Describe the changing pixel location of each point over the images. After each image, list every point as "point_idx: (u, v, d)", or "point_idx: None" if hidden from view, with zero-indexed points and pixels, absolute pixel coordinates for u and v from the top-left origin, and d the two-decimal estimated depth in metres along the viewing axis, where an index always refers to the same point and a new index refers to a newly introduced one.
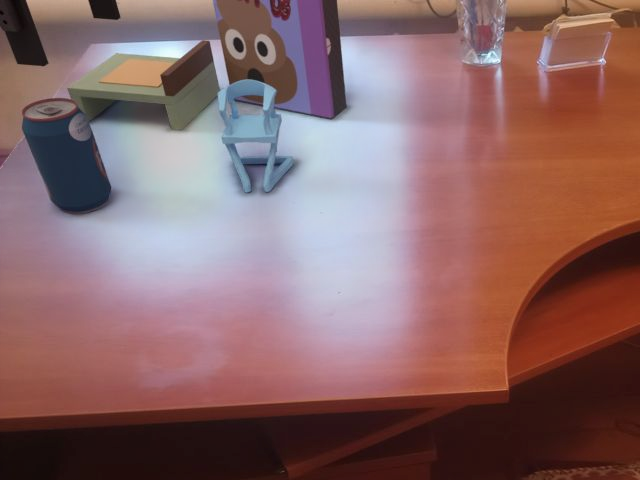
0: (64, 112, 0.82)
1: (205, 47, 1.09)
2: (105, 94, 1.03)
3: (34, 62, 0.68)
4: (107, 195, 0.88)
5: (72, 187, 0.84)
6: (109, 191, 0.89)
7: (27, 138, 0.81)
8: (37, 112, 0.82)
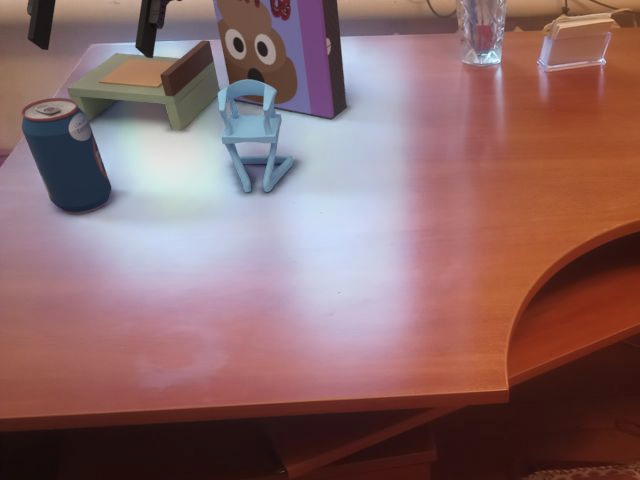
0: (64, 112, 0.82)
1: (205, 47, 1.09)
2: (105, 94, 1.03)
3: (149, 52, 0.87)
4: (107, 195, 0.88)
5: (72, 187, 0.84)
6: (109, 191, 0.89)
7: (27, 138, 0.81)
8: (37, 112, 0.82)
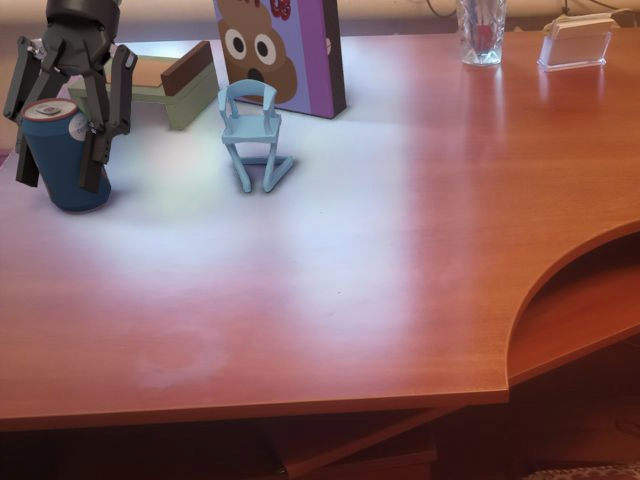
0: (64, 112, 0.82)
1: (205, 47, 1.09)
2: None
3: (94, 189, 0.84)
4: (107, 195, 0.88)
5: (72, 187, 0.84)
6: (109, 191, 0.89)
7: (27, 138, 0.81)
8: (37, 112, 0.82)
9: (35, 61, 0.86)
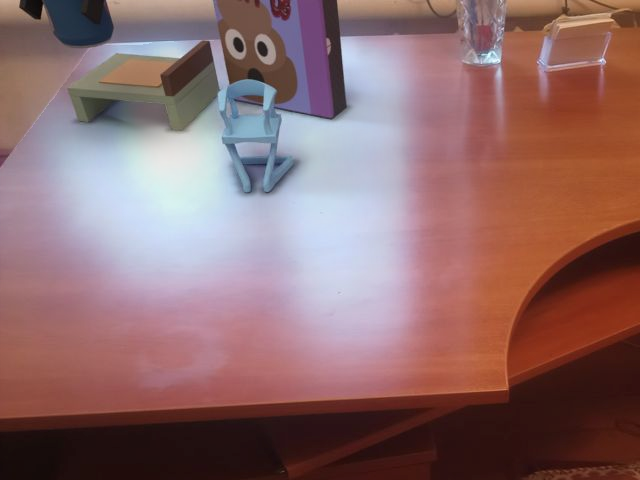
0: None
1: (205, 47, 1.09)
2: (105, 94, 1.03)
3: (96, 18, 0.85)
4: (109, 32, 0.89)
5: (75, 16, 0.85)
6: (111, 28, 0.90)
7: None
8: None
9: None
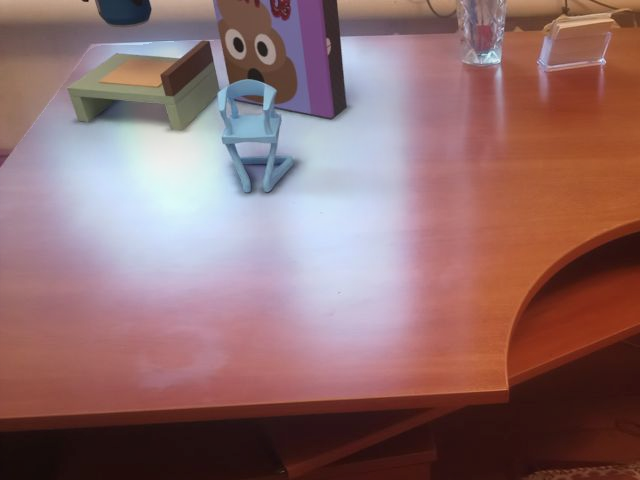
0: None
1: (205, 47, 1.09)
2: (105, 94, 1.03)
3: (138, 0, 0.97)
4: (148, 13, 1.01)
5: None
6: (150, 10, 1.01)
7: None
8: None
9: None
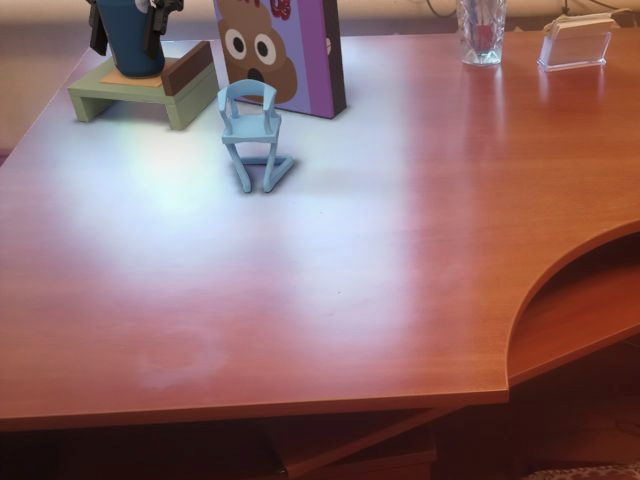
0: None
1: (205, 47, 1.09)
2: (105, 94, 1.03)
3: (154, 55, 1.02)
4: (162, 65, 1.06)
5: (136, 53, 1.02)
6: (164, 62, 1.06)
7: (101, 9, 0.99)
8: None
9: None
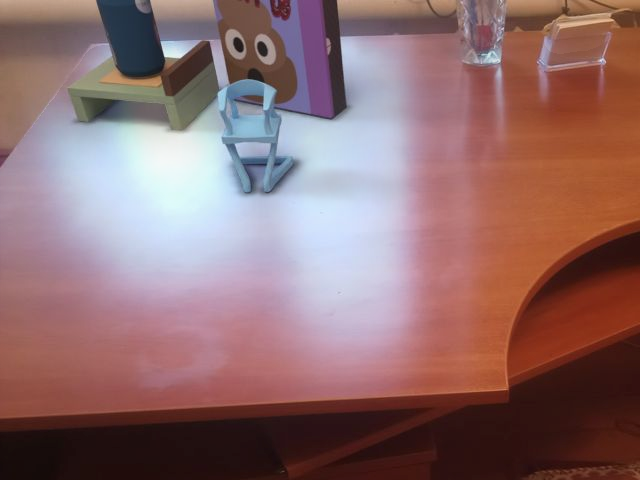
0: None
1: (205, 47, 1.09)
2: (105, 94, 1.03)
3: None
4: (162, 65, 1.06)
5: (136, 53, 1.02)
6: (164, 62, 1.06)
7: (101, 9, 0.99)
8: None
9: None
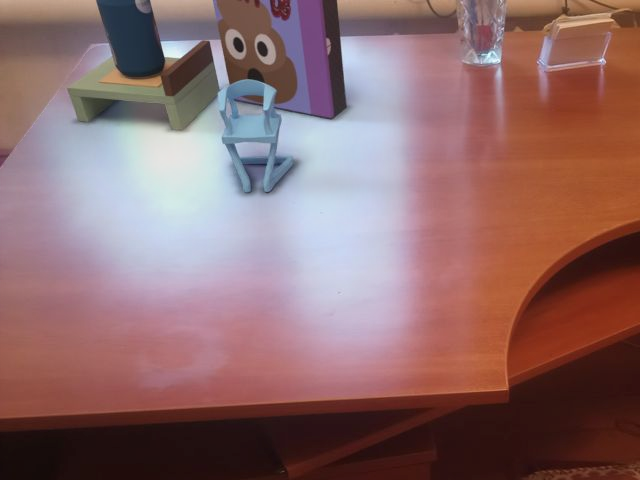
0: None
1: (205, 47, 1.09)
2: (105, 94, 1.03)
3: None
4: (162, 65, 1.06)
5: (136, 53, 1.02)
6: (164, 62, 1.06)
7: (101, 9, 0.99)
8: None
9: None
